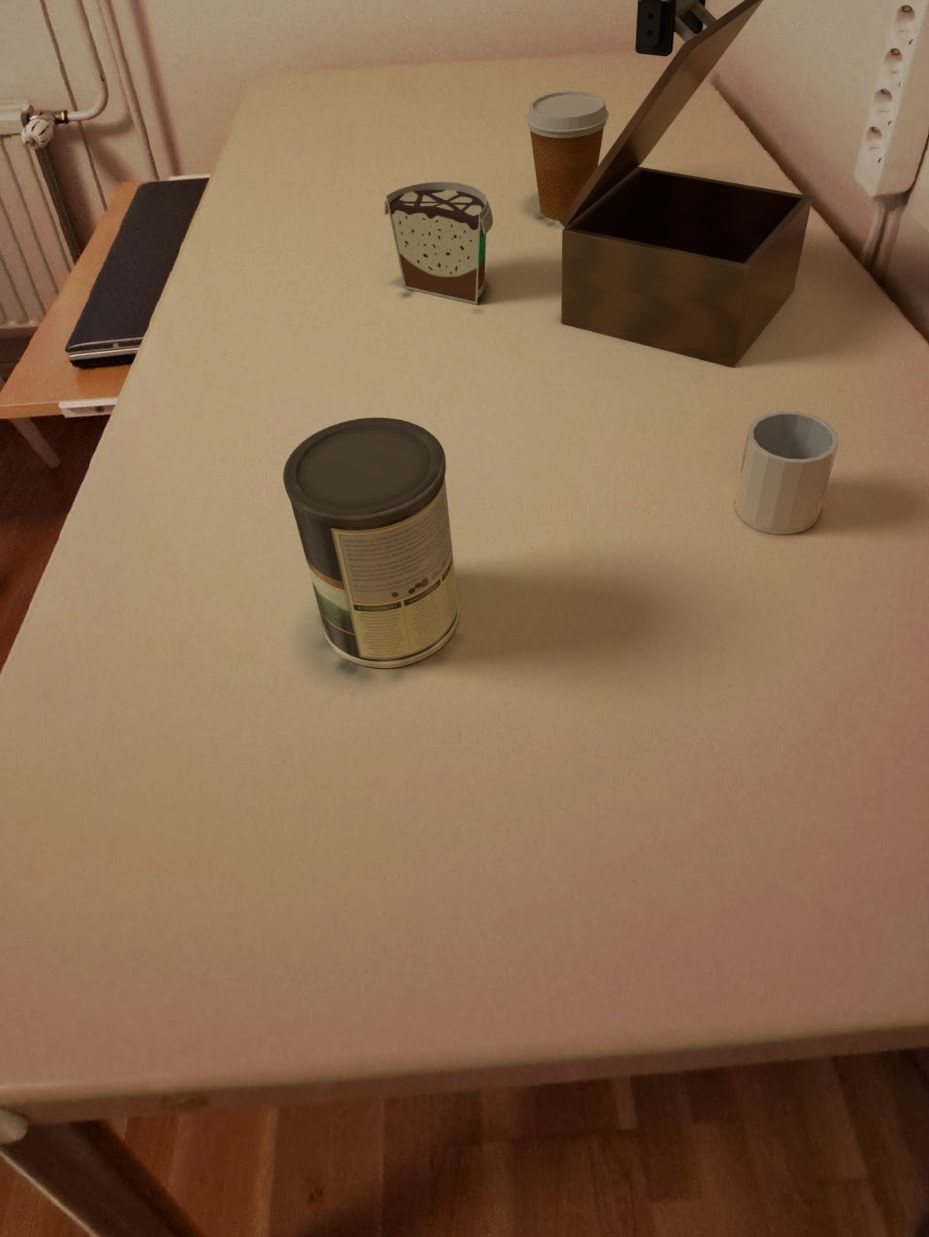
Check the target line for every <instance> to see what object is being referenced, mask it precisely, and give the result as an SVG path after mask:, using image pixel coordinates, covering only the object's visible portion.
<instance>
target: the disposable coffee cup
mask: <svg viewBox="0 0 929 1237" xmlns="http://www.w3.org/2000/svg"><path fill="white" fill-rule="evenodd" d="M609 117H610V113H609V111H608V110H607V105H606V100H605V99H604V98H603V97H602V96H601V95H599V94H596V93H593V92H589V91H581V90H564V91H563V90H562V91H555V92H549V93H545V94H543V95H540V96H538V97H536V98H534V99H533V100H531V102H530V103H529V107H528V112H527V113H526V115H525V123H526V124H527V127H528V130H529V132H530V140H531V142H530V143H531V149H532V156H533V164H534V172H535V179H536V185H537V186H536V187H537V195H538V202H539V212H540V213H541V214H542V215H543V216H544V217H546V218H548V219H553V220H557V221H560V220H561V219H562V217H563V216H564V214H565V213H566V212H567V210H568V209H569V207H570V206H571V204H572V203H573V202H574V200H575V199H576V197H577V196H578V194H579V193H580V191H581V190H582V189H583V187H584V186H585V184H586V183H587V181H588V180H589V179H590V177H591V176H592V174H593V173H594V171H595V170H596V169H597V167H598V166H599V164H600V156H601V149H602V143H603V135H604V129H605V126H606V125H607V121H608V120H609Z"/></svg>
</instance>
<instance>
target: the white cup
mask: <svg viewBox="0 0 929 1237" xmlns="http://www.w3.org/2000/svg"><path fill="white" fill-rule="evenodd" d="M838 447H839V438H838V433H837V431H836V430H835V429H834V427H832V425H831V424H830V423H828V422H827V421H825V420H824V419H821V418H820V417H818V416H816V415H813V414H809V413H805V412H802V411H795V410H794V411H790V410H780V411H775V412H769V413H765V414H763V415H761V416H760V417H758V418H756V419H754V420H753V422H752V423H751V424H750V426H748V428H747V434H746V439H745V444H744V450H743V456H742V460H741V466H740V472H739V475H738V476H739V478H738V482H737V487H736V493H735V503H734V507H735V511H736V513H737V515H738V517H739V518H740V519H741V521H743V522H744V524H746V525H748V526H749V527H751V528H753V529H755V530H757V531H760V532H763V533H766V534H771V535H779V536H781V535H794V534H797V533H801V532H804V531H806V530H808V529H809V528H811V527H812V526H813V525H814V524H815V523H816V522H817V520H818V518H819V514H820V512H821V510H822V506H823V502H824V498H825V495H826V491H827V487H828V484H829V480H830V476H831V472H832V469H833V465H834V461H835V457H836V454H837V451H838Z"/></svg>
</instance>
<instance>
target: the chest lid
mask: <svg viewBox="0 0 929 1237" xmlns="http://www.w3.org/2000/svg"><path fill="white" fill-rule="evenodd" d="M763 2H764V0H743V1H741V2H740V3H739V4H737V5H736V6H734V7H733V8H732V9H730V10H729V11H727V12H726V13H724V14H723V15H722V16H720V17H719V18H718V19H717V18H716V17H714V15H713V14H712V13H711V12H710V11H709V10H708V9H707V7H706V6H705V7H704V6H703V5H702V4H701V3H700V2H699V0H677V1H676V14H675V27H674V31H675V32H674V33H675V34H676V35H678V36H679V38H681V40H683V41H684V43H683V44H682V45H681V46H680V48H679V50H678V51H677V52H676V54H675V55H674V56H673V58H672V59H671V60H670V62H669V64H667V67H666V68H665V69H664V71H663V72H662V74H661V76H659V78H658V79H657V81H656V82H655V84H653V87H652V88H651V90H650V91H649V93H648V94H647V95H646V97H645V98H644V100H643V101H642V102H641V104H640V106H638V108H637V110H635V112H634V114H633V116H631V118H630V120H629V121H628V122H627V124H626V126H625V127H624V128H623V130H622V131H621V133H620V134H619V135H618V137H617V138H616V139H615V141H614V143H613V144H612V146H611V147H610V148H609V150H608V151H607V152H606V154H605V155H604V157H603V158H602V159H601V161H600V162H599V163H598V167H597V169H596V170H595V171H594V173H593V174H592V176H591V177H590V179H589V180H588V181H587V183H586V184H585V186H584V187H583V189H582V190H581V191H580V193H579V194H578V196H577V197H576V199H575V200H574V202H573V203H572V204H571V206H570V207H569V209H568V210H567V212H566V213H565V214H564V216H563V217H562V219H561V220H559V223H560V224H561V225H562V226H563V228H565V227H567V226H568V225H569V224H570V223H571V222H573V221H574V220H575V219H576V218H577V217H579V216H580V215H581V214H582V213H583V212H585V211H586V210H587V209H588V208H589V207H591V206H592V205H593V204H594V203H595V202H597V201H598V200H599V199H600V198H601V197H603V196H604V195H605V194H606V193H607V192H609V191H610V190H611V189H612V188H613V187H615V186H616V185H617V184H618V183H619V182H621V181H622V180H623V179H624V178H625V177H627V176H628V175H629V174H630V173H631V172H633V171H634V170H635V169H636V168H637V167H641V165H642V164H643V162H645V160H646V158H647V157H648V156H649V155H650V154H651V152H652V151H653V149H654V148H655V146H656V145H657V144H658V143H659V141H660V140H661V139H662V138H663V136H664V135H665V133H666V132H667V131H668V129H669V128H670V126H671V125H672V124H673V122H674V121H675V120H676V118H677V117H678V115H679V114H680V113H681V112H682V110H683V109H684V107H685V106H686V105H687V103H688V102H689V101H690V100H691V99H692V97H693V96H694V95H695V93H696V92H697V90H698V89H699V87H700V86H701V85H702V84H703V82H704V81H705V80H706V78H707V77H708V75H709V74H710V73H711V72H712V70H713V69H714V67H715V66H716V65H717V63H718V62H719V61H720V60H721V59H722V57H723V55H724V54H725V53H726V51H727V50H728V48H729V47H730V46H731V44H733V42H734V40H735V39H736V38H737V37H738V35H739V34H740V32H741V31H742V30H743V28H744V27H745V26H746V25H747V23H748V22H749V21H750V19H751V18H752V16H753V15H754V14H755V12H756V11H757V10H758V9H759V7H760V6H761V4H762V3H763ZM689 11H692V12H693V13H694V14H695V15H696V16H697V17H698V18H699V19H700V20H701V21H702V22H703V25H704V26H706V27H705V28H703V30H702V31H701V32H699V33H698V34H694V33H693V32H692V31H691V30H690V29H689V28H688V27H687V26H686V25H685V24H684V23H683V22H682V21H681V20H680V19H679V18H680V17H682V16H683V15H685V14H686V13H688V12H689Z"/></svg>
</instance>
